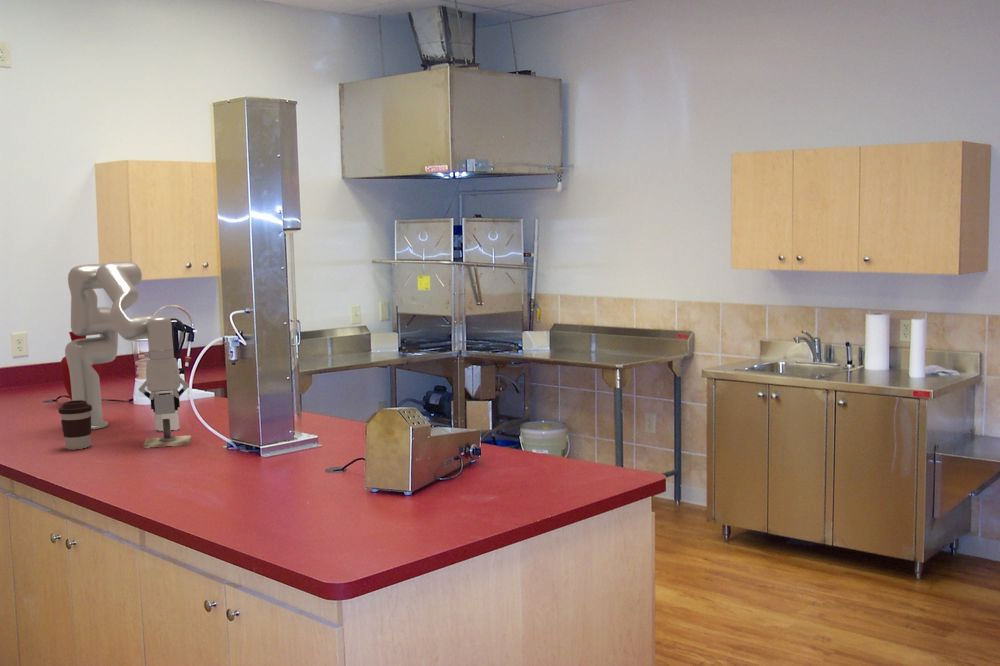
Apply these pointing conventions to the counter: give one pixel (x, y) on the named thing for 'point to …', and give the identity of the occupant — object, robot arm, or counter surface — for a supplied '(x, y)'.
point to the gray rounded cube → (164, 403)
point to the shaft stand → (167, 438)
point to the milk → (173, 418)
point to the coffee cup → (76, 424)
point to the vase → (65, 368)
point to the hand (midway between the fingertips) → (165, 410)
